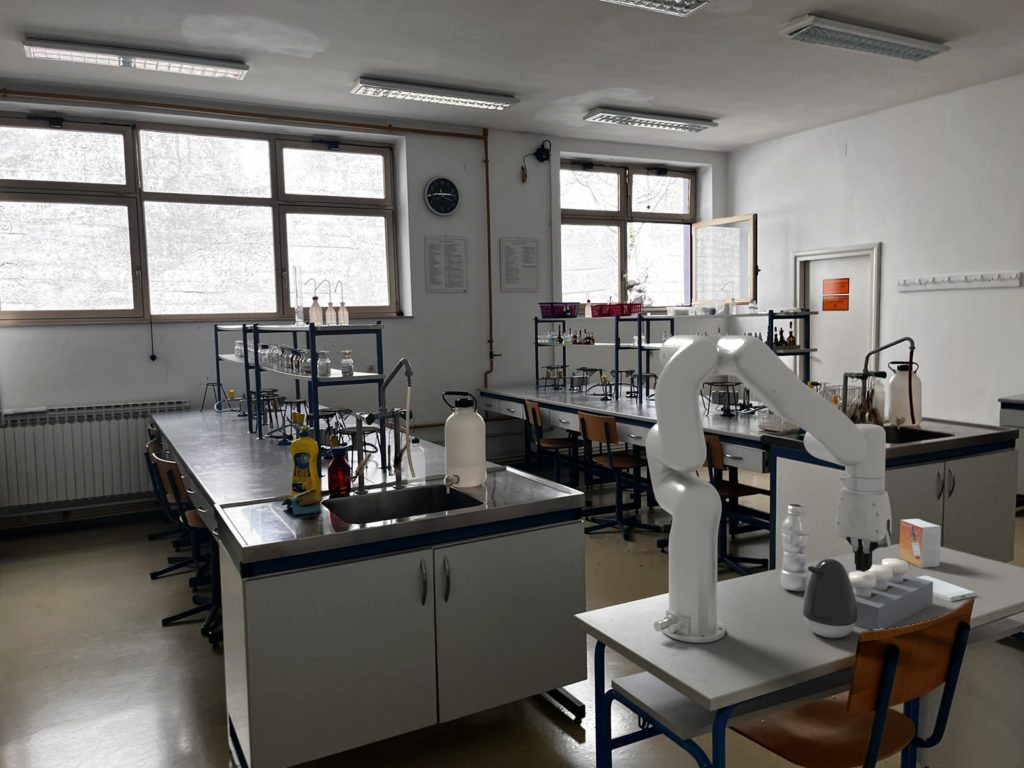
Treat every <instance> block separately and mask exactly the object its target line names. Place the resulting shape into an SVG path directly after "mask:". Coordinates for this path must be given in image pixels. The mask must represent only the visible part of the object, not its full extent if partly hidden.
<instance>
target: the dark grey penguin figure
mask: <svg viewBox="0 0 1024 768" xmlns="http://www.w3.org/2000/svg"><path fill="white" fill-rule="evenodd" d="M808 570H809V572H810V578H809V581H808V584H807V587H806V590H805V591H804V596H803V599H802V600H803V601H802V609H801V610H802V611H801V612H802V615H803V617H804V620H805V621H804V622H805V624H806V625H807V627H808V628H809V629H810V630H811V631H812V632H813V633H815V634H816V635H818V636H821V637H823V638H828V639H840V638H843V637H846V636H848V635H849V634H850V633H851V632H852V631H853V629H854V628H855V626H856V625H855V622H856V621H857V606H856V599H855V594H854V590H853V587H852V584H851V581H850V578H849V573H848V571H847V570H846V568H845V567H844V565H843V563H841V562H840V561H838V560H837V559H834V558H824V559H821V560H820V561H818V562H817V564H816V565H815V566H814V565H809V566H808Z"/></svg>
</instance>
